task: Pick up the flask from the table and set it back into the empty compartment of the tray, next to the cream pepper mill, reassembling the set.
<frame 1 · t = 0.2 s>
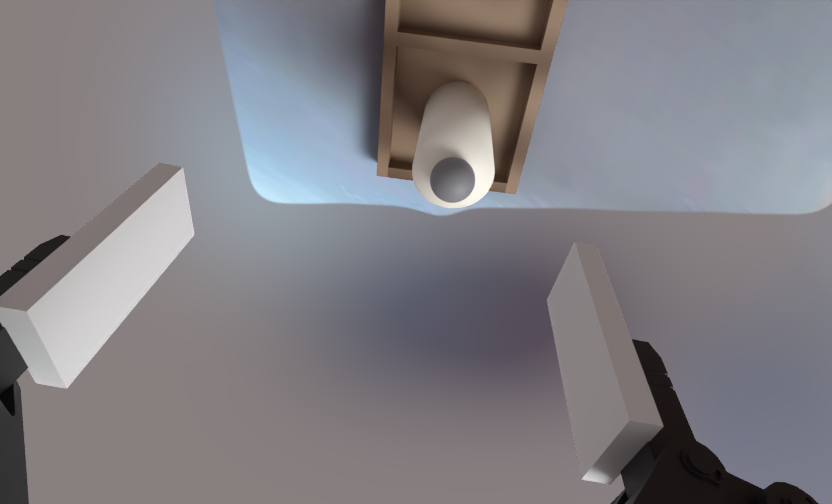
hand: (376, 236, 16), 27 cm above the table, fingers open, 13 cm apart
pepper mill: (456, 113, 40), point 1 cm above the table, touching tray
tray: (467, 41, 37), on the table
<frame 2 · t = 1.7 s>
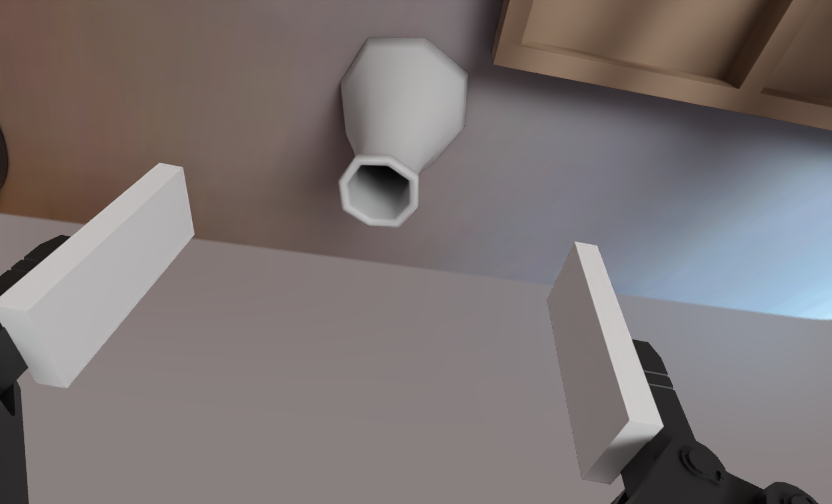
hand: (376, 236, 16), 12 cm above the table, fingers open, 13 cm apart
flask: (404, 101, 26), on the table
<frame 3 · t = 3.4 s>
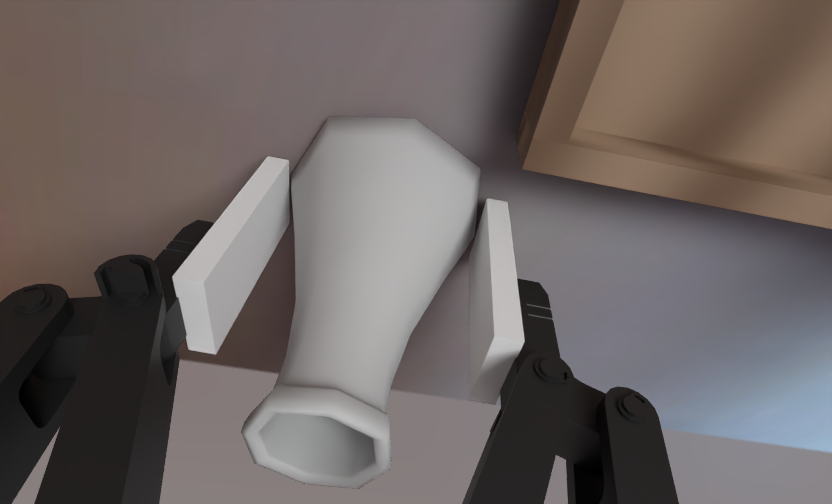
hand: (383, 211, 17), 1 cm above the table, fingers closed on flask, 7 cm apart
flask: (386, 199, 18), on the table, touching gripper
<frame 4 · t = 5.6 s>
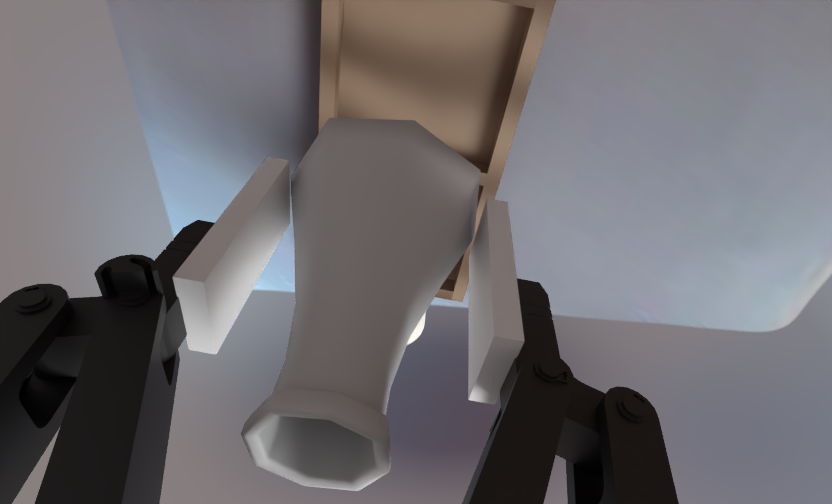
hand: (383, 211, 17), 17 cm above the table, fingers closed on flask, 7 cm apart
tray: (412, 151, 34), on the table
flask: (386, 201, 18), point 16 cm above the table, touching gripper
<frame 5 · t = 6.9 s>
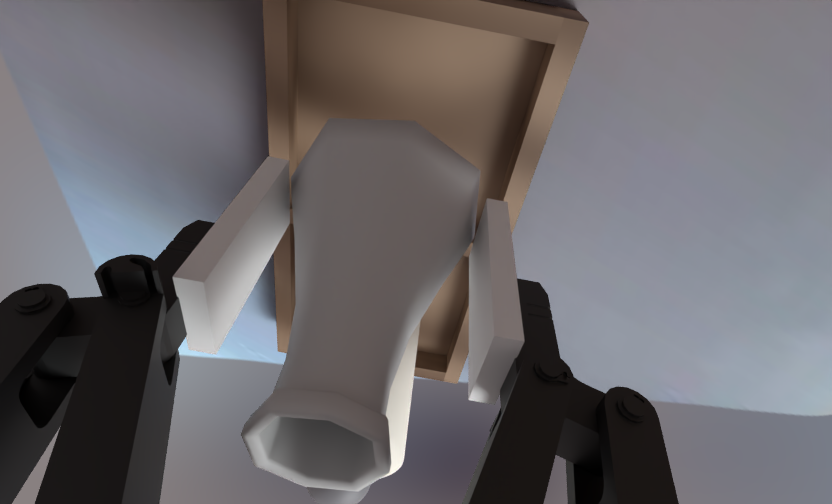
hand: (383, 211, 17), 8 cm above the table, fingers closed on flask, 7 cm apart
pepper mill: (380, 290, 30), point 1 cm above the table, touching tray
tray: (394, 211, 27), on the table
flask: (386, 201, 18), point 8 cm above the table, touching gripper
when the fingers open (3 cm above the table, at t = 8.1 s): flask drops 2 cm, resting on tray.
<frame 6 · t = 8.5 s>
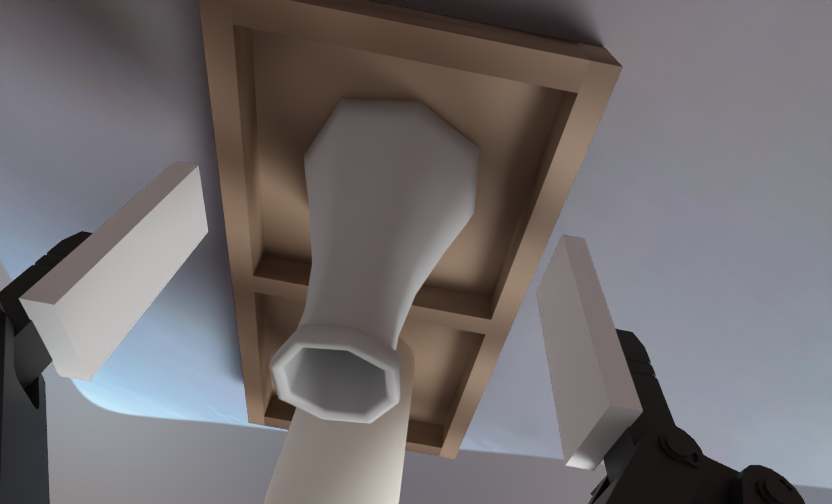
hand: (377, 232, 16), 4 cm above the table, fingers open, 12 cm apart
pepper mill: (365, 358, 26), point 1 cm above the table, touching tray
tray: (379, 273, 23), on the table
flask: (392, 179, 19), point 1 cm above the table, touching tray
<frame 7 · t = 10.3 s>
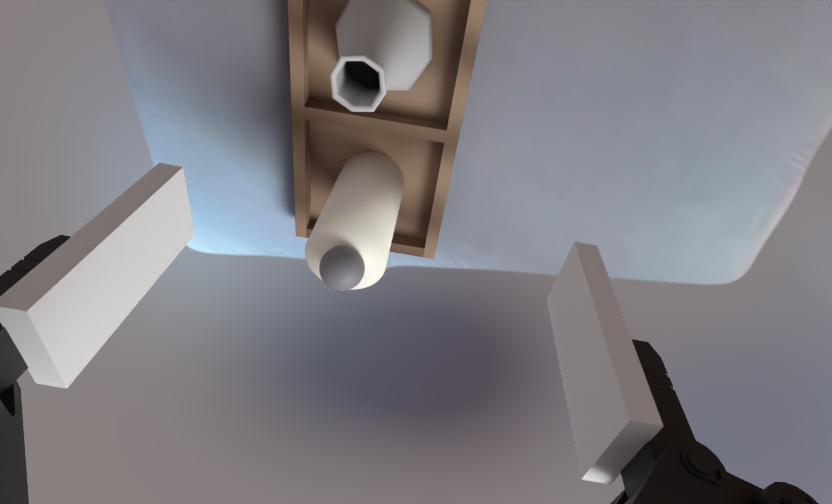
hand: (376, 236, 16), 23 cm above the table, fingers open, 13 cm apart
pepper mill: (372, 180, 40), point 1 cm above the table, touching tray
tray: (379, 113, 37), on the table
flask: (385, 39, 33), point 1 cm above the table, touching tray
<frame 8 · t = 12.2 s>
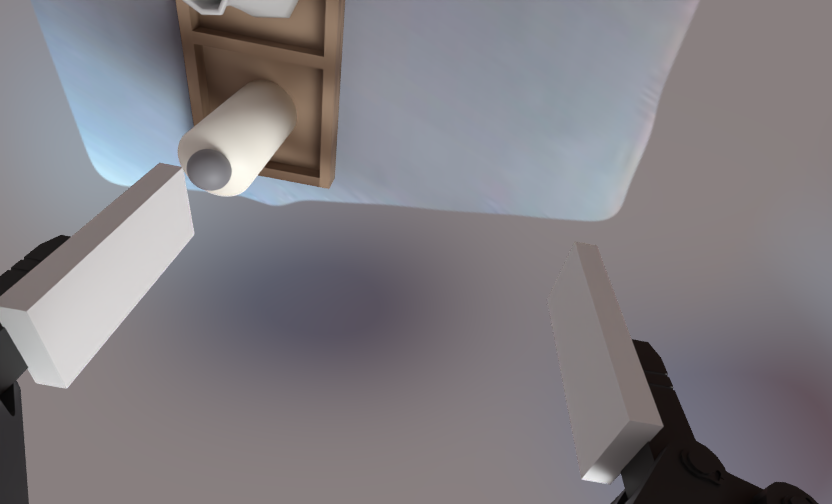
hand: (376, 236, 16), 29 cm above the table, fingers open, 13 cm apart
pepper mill: (267, 110, 43), point 1 cm above the table, touching tray
tray: (268, 43, 40), on the table
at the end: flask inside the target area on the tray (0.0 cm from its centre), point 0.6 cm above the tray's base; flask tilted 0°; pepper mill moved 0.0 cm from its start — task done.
